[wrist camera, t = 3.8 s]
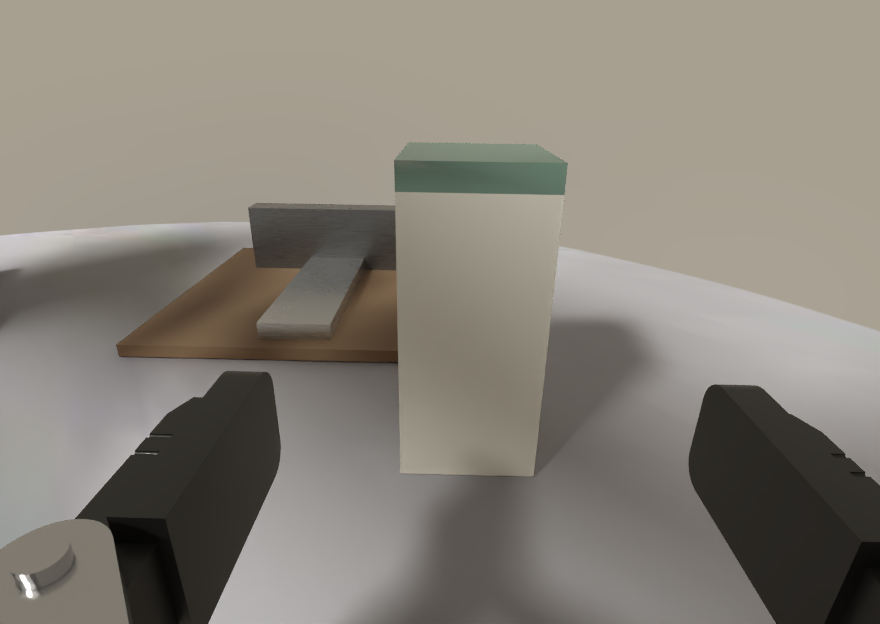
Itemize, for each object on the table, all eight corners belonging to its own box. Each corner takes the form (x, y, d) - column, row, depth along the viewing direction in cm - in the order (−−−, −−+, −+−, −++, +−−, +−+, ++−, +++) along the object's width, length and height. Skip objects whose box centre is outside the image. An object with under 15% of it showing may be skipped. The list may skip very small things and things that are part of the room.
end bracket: (255, 267, 34) (248, 207, 33) (263, 260, 36) (256, 203, 34) (421, 270, 34) (421, 211, 33) (422, 264, 36) (422, 206, 34)
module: (400, 473, 17) (394, 160, 13) (410, 392, 22) (408, 142, 18) (533, 476, 17) (567, 163, 13) (515, 394, 22) (536, 144, 18)
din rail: (258, 338, 25) (256, 323, 24) (323, 253, 38) (323, 242, 37) (331, 339, 25) (329, 324, 24) (372, 254, 38) (371, 243, 37)
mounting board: (119, 356, 24) (116, 344, 24) (244, 255, 39) (243, 248, 39) (462, 363, 24) (462, 352, 24) (457, 260, 39) (457, 252, 38)
